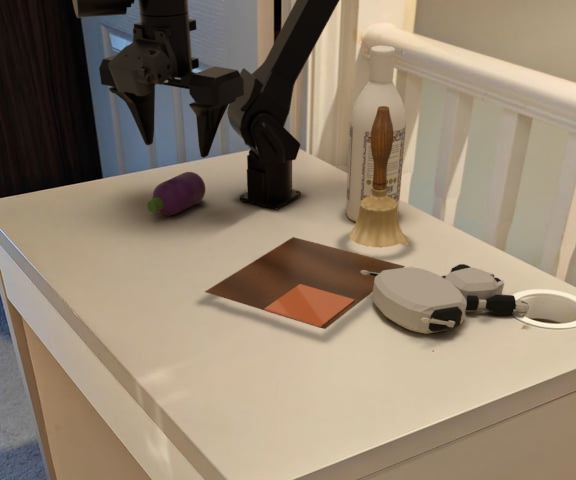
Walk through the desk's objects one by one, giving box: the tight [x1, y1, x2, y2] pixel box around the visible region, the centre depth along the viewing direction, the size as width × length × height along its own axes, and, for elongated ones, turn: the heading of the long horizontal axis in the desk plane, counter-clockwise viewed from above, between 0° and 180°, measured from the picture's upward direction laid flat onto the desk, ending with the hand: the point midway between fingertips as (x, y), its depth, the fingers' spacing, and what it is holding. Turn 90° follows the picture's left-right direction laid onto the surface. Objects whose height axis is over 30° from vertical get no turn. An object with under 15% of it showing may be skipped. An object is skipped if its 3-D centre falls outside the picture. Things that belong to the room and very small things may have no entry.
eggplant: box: [146, 171, 206, 216], centre depth 111 cm, size 10×4×4 cm, turn 147°
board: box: [204, 236, 406, 330], centre depth 94 cm, size 18×16×1 cm
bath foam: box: [345, 45, 407, 223], centre depth 104 cm, size 7×7×20 cm
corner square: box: [264, 284, 355, 328], centre depth 88 cm, size 7×7×1 cm
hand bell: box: [348, 106, 410, 248], centre depth 98 cm, size 8×8×16 cm
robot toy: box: [360, 263, 530, 335], centre depth 88 cm, size 12×4×15 cm
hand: (176, 150), depth 107 cm, fingers open, 9 cm apart
